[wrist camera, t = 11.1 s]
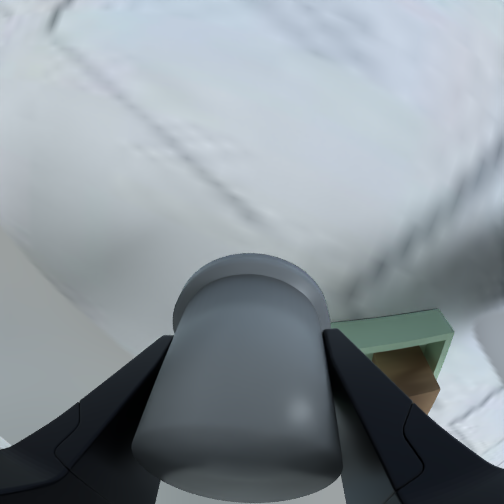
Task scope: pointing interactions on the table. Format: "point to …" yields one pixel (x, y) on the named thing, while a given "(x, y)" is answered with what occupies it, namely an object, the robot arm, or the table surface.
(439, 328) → the parts tray
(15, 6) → the table surface
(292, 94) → the table surface
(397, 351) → the walnut block
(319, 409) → the grey domed knob
